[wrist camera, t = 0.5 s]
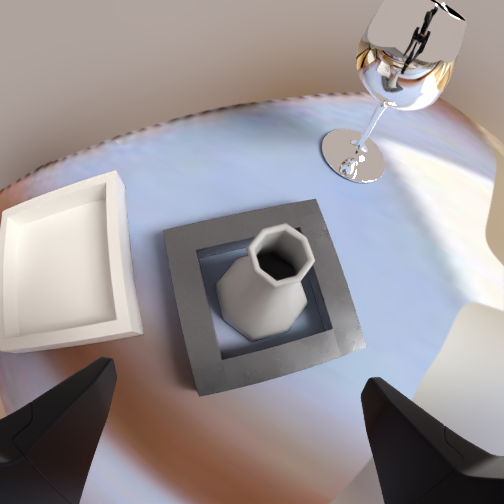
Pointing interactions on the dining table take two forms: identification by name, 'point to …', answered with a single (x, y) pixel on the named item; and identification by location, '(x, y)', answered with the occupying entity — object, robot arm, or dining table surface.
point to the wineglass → (397, 75)
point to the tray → (67, 269)
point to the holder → (278, 357)
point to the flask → (266, 283)
